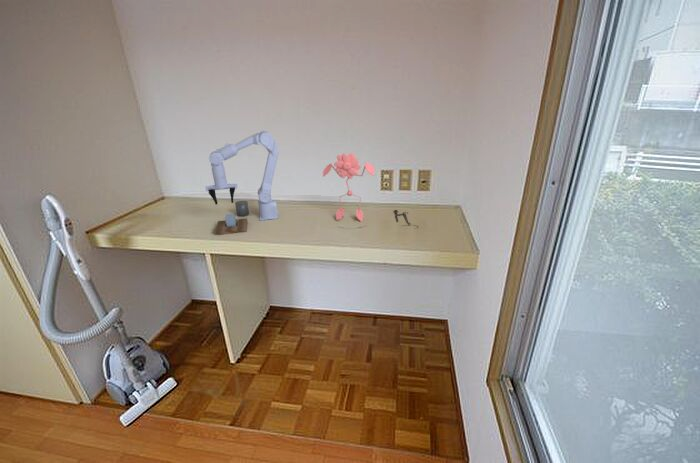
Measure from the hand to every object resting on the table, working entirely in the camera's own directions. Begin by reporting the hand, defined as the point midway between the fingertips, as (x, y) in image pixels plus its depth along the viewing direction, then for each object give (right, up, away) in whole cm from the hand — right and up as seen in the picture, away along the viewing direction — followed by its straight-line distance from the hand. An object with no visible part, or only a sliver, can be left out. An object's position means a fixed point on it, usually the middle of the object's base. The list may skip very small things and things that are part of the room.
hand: (224, 203), depth 162 cm
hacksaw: (+92, -9, +3) cm, 92 cm away
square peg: (+5, -13, -4) cm, 14 cm away
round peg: (+5, -5, +14) cm, 16 cm away
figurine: (+63, -10, 0) cm, 64 cm away
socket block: (+5, -13, -4) cm, 14 cm away
